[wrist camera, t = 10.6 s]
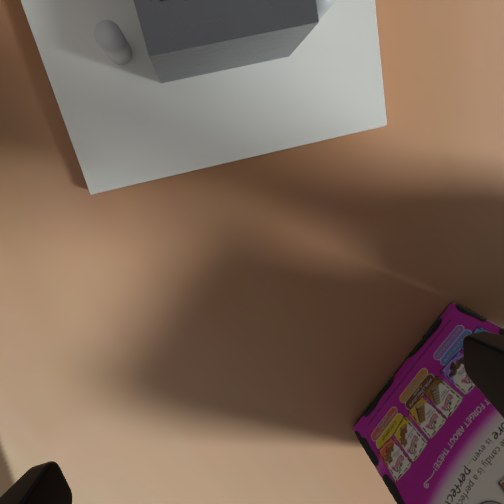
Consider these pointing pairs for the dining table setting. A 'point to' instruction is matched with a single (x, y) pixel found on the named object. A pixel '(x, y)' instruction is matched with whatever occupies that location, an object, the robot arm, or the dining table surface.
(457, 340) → the candy bar box
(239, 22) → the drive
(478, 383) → the robot arm
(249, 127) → the tray
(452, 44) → the dining table surface
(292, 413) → the dining table surface
